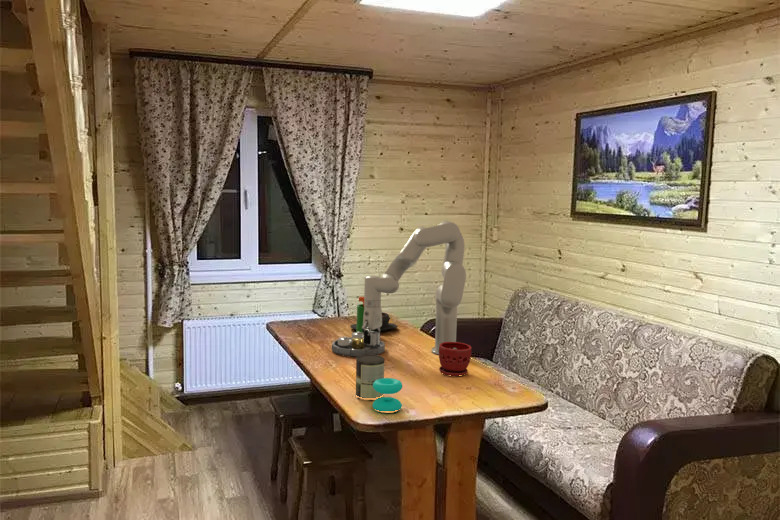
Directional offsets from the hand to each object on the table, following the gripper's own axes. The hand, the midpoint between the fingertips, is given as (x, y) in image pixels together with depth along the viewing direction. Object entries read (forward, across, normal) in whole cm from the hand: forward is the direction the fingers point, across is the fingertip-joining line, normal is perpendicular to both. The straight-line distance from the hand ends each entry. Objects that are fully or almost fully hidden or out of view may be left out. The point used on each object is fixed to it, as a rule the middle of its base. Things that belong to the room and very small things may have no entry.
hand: (371, 341), depth 300 cm
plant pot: (+5, -11, -45) cm, 47 cm away
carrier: (+5, 0, +7) cm, 9 cm away
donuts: (+5, -63, -42) cm, 76 cm away
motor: (+5, +25, +18) cm, 31 cm away
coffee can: (+5, -54, -30) cm, 62 cm away
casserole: (+5, +41, +22) cm, 47 cm away
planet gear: (+1, 0, 0) cm, 1 cm away
